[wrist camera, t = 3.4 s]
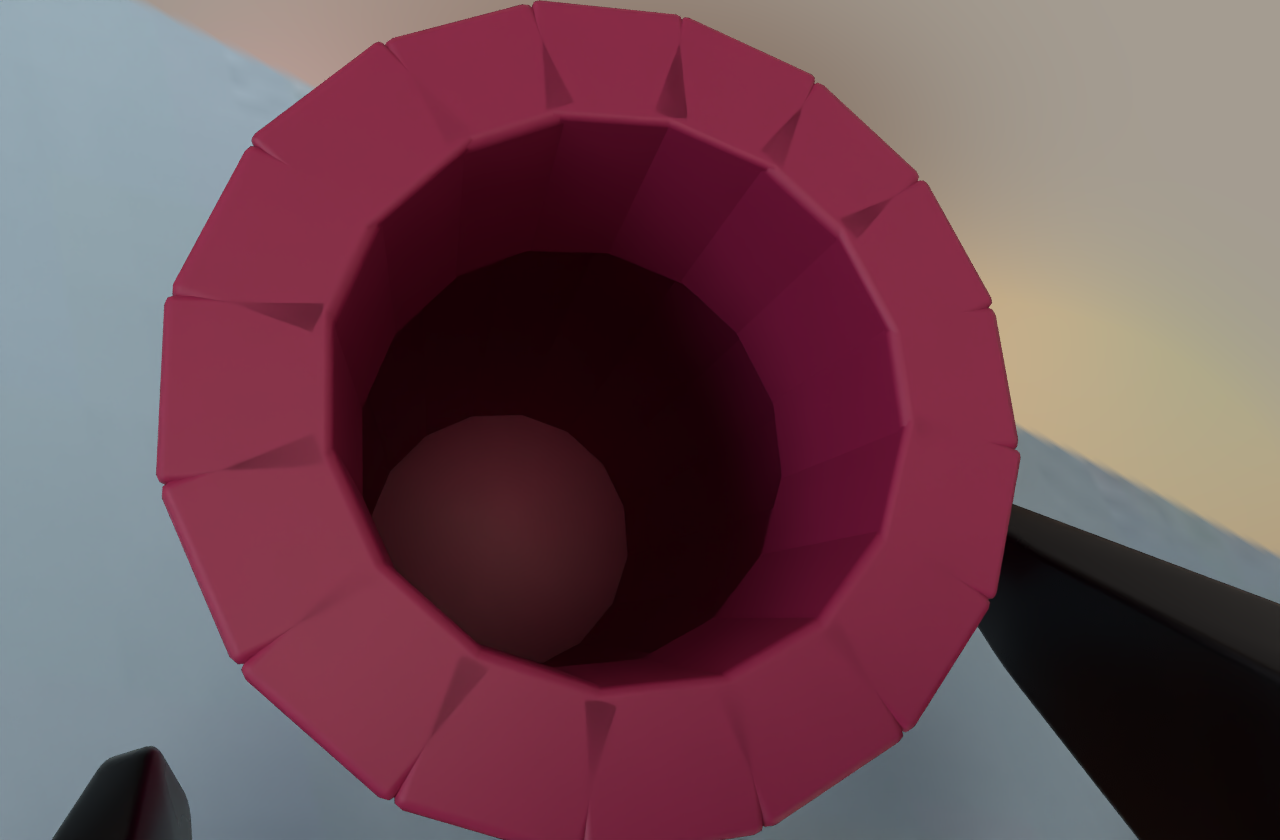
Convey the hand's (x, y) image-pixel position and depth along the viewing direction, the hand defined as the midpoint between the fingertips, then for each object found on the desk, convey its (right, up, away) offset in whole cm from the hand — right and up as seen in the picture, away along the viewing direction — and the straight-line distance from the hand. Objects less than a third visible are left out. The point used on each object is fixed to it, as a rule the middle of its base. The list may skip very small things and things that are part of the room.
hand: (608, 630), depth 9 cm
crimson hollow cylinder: (-3, 0, +9) cm, 10 cm away
